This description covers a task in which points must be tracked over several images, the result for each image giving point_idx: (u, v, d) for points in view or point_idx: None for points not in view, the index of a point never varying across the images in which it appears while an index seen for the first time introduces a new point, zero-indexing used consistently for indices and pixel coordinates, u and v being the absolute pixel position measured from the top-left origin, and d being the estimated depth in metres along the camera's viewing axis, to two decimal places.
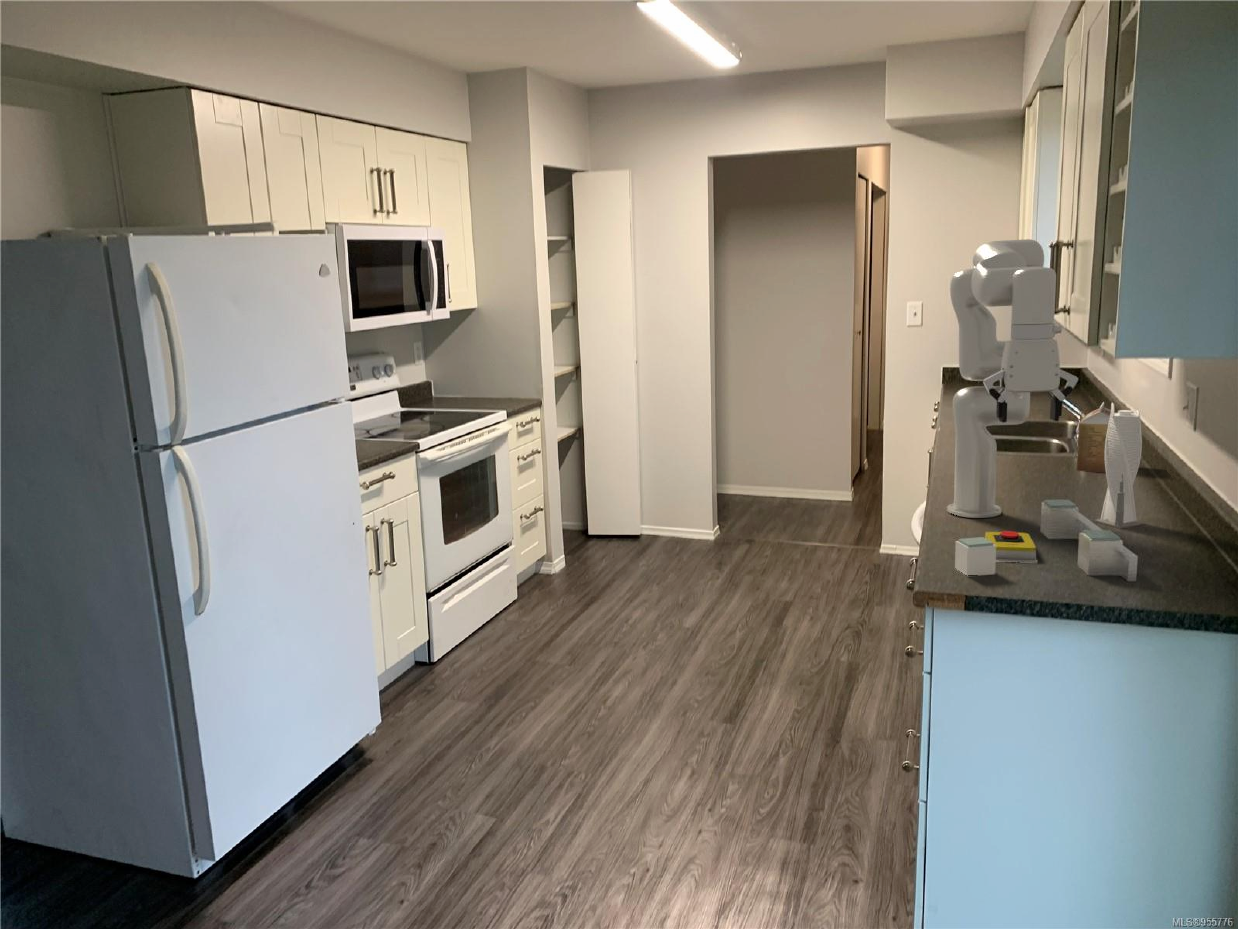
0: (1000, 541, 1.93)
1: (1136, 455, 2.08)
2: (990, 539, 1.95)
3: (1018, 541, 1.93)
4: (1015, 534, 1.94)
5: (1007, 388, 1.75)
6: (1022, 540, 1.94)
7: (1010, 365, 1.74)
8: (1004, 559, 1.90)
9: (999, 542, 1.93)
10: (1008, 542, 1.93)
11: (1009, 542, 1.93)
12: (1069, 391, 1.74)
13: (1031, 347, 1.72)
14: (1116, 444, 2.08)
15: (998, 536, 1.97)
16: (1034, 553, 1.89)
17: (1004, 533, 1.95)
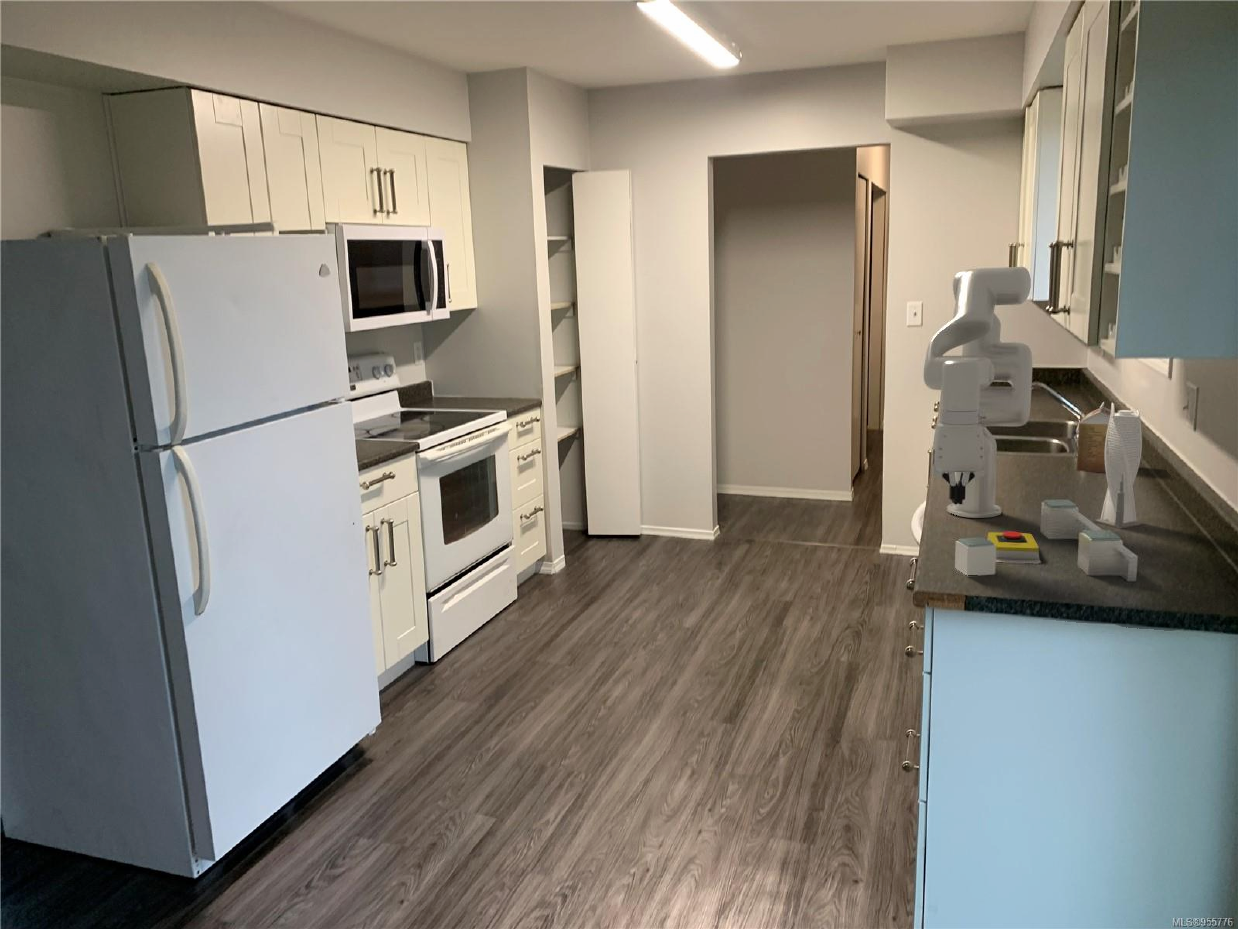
0: (1002, 542, 1.93)
1: (1136, 455, 2.08)
2: (993, 539, 1.95)
3: (1021, 541, 1.93)
4: (1018, 534, 1.94)
5: (937, 468, 1.91)
6: (1025, 540, 1.94)
7: (939, 447, 1.90)
8: (1006, 559, 1.89)
9: (1002, 542, 1.93)
10: (1011, 542, 1.92)
11: (1012, 542, 1.92)
12: (971, 477, 1.91)
13: (958, 431, 1.89)
14: (1116, 444, 2.08)
15: (1001, 536, 1.97)
16: (1037, 553, 1.88)
17: (1007, 533, 1.95)
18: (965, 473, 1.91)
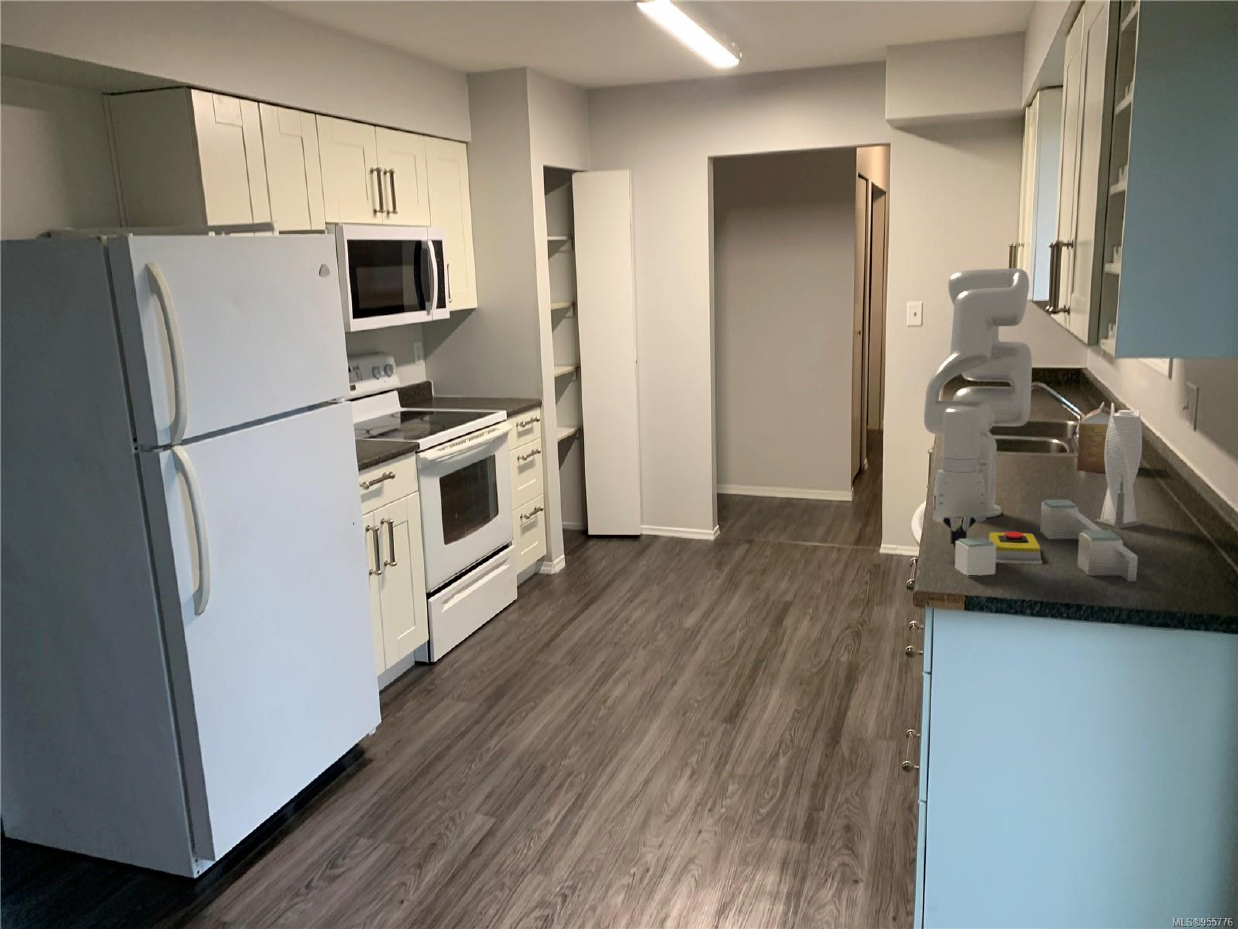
0: (1004, 542, 1.93)
1: (1136, 455, 2.08)
2: (994, 540, 1.95)
3: (1022, 542, 1.93)
4: (1019, 535, 1.93)
5: (938, 514, 1.94)
6: (1027, 540, 1.93)
7: (940, 494, 1.92)
8: (1008, 560, 1.89)
9: (1003, 542, 1.93)
10: (1012, 543, 1.92)
11: (1013, 543, 1.92)
12: (972, 523, 1.94)
13: (959, 479, 1.91)
14: (1116, 444, 2.08)
15: (1002, 537, 1.97)
16: (1039, 554, 1.88)
17: (1008, 534, 1.95)
18: (966, 519, 1.93)
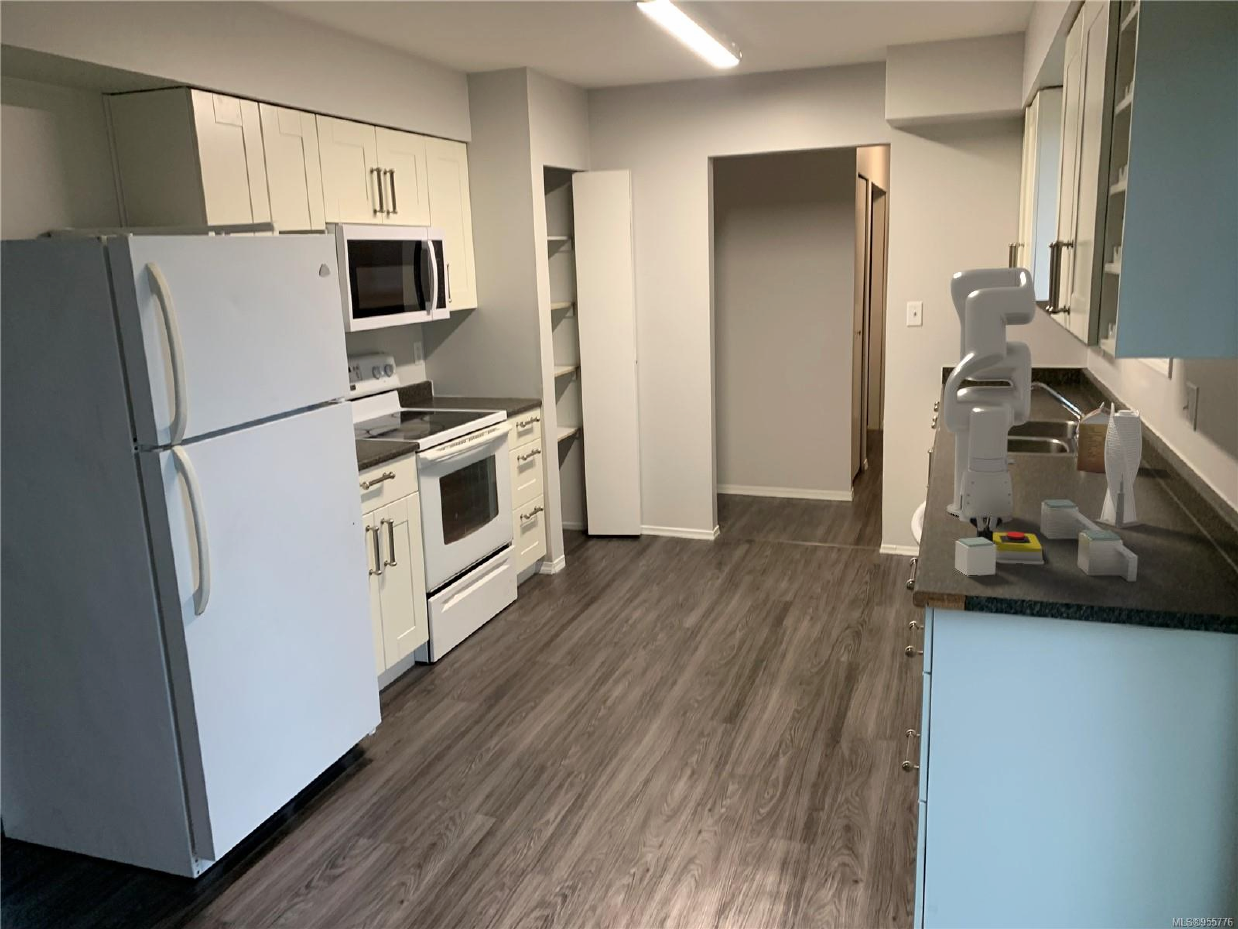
0: (1006, 542, 1.93)
1: (1136, 455, 2.08)
2: (996, 540, 1.95)
3: (1024, 542, 1.92)
4: (1021, 535, 1.93)
5: (964, 513, 1.93)
6: (1029, 540, 1.93)
7: (967, 494, 1.92)
8: (1010, 560, 1.89)
9: (1005, 543, 1.92)
10: (1014, 543, 1.92)
11: (1015, 543, 1.92)
12: (999, 522, 1.93)
13: (986, 478, 1.90)
14: (1116, 444, 2.08)
15: (1004, 537, 1.97)
16: (1040, 554, 1.88)
17: (1010, 534, 1.94)
18: (993, 518, 1.93)
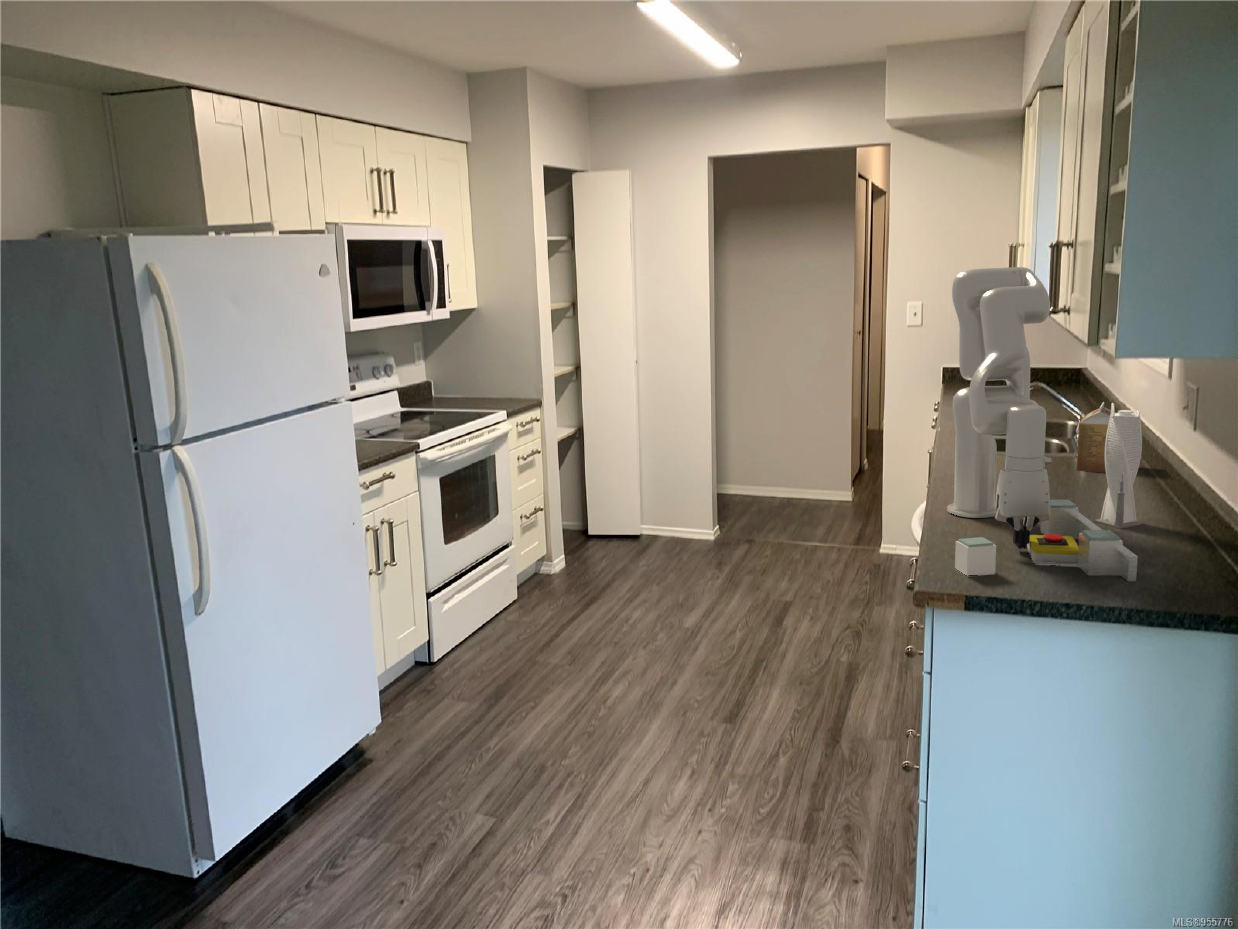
0: (1043, 545, 1.90)
1: (1136, 455, 2.08)
2: (1033, 542, 1.92)
3: (1062, 544, 1.90)
4: (1059, 537, 1.91)
5: (1001, 513, 1.92)
6: (1067, 543, 1.91)
7: (1004, 493, 1.90)
8: None
9: (1042, 545, 1.90)
10: (1052, 545, 1.90)
11: (1053, 545, 1.89)
12: (1036, 522, 1.92)
13: (1023, 477, 1.89)
14: (1116, 444, 2.08)
15: (1041, 539, 1.94)
16: None
17: (1048, 536, 1.92)
18: (1030, 518, 1.91)
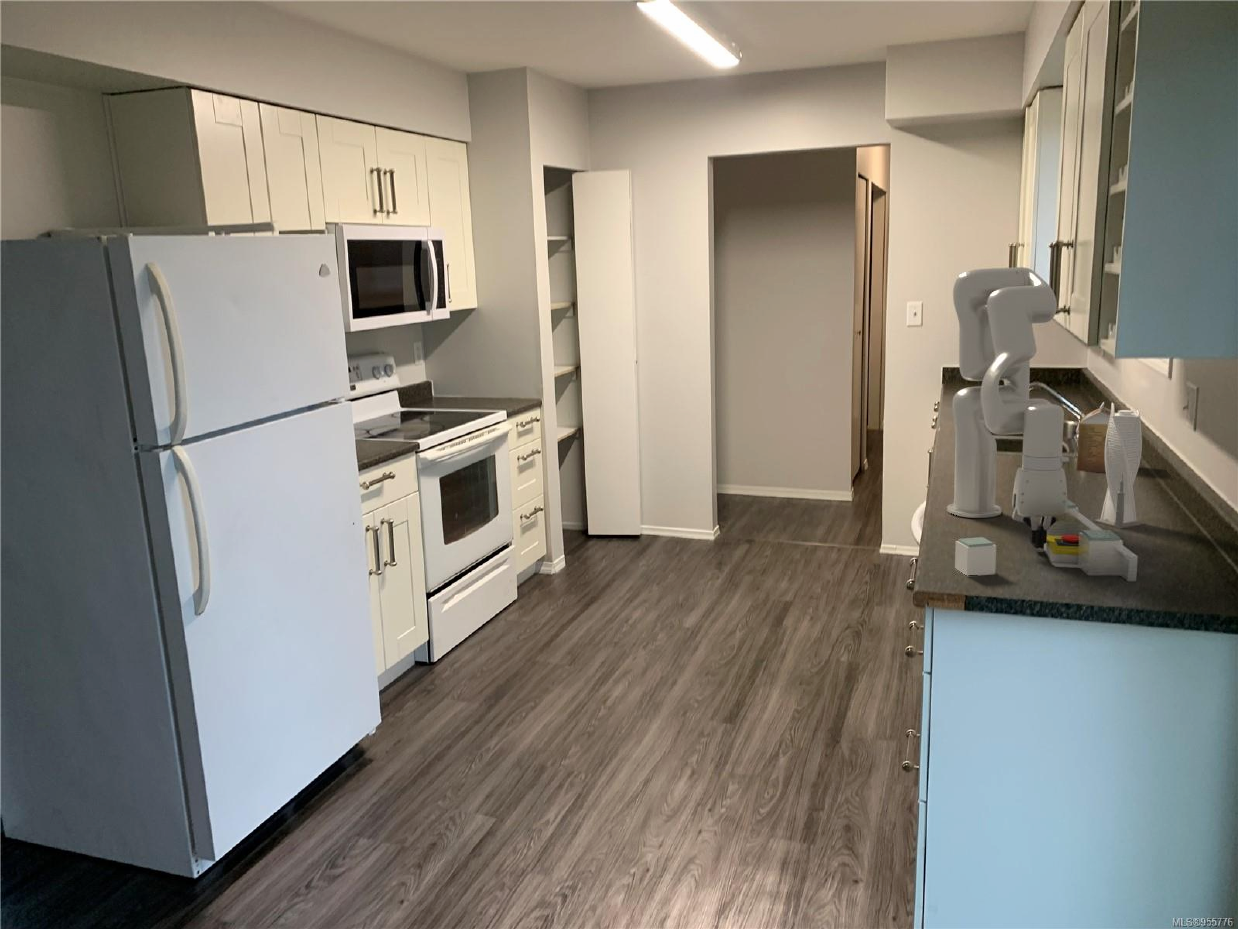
0: (1062, 545, 1.89)
1: (1136, 455, 2.08)
2: (1051, 543, 1.91)
3: None
4: (1078, 538, 1.89)
5: (1018, 512, 1.91)
6: None
7: (1021, 493, 1.90)
8: (1067, 564, 1.85)
9: (1061, 546, 1.88)
10: (1071, 546, 1.88)
11: (1072, 546, 1.88)
12: (1053, 522, 1.91)
13: (1040, 477, 1.88)
14: (1116, 444, 2.08)
15: (1059, 540, 1.92)
16: None
17: (1066, 537, 1.90)
18: (1047, 518, 1.91)
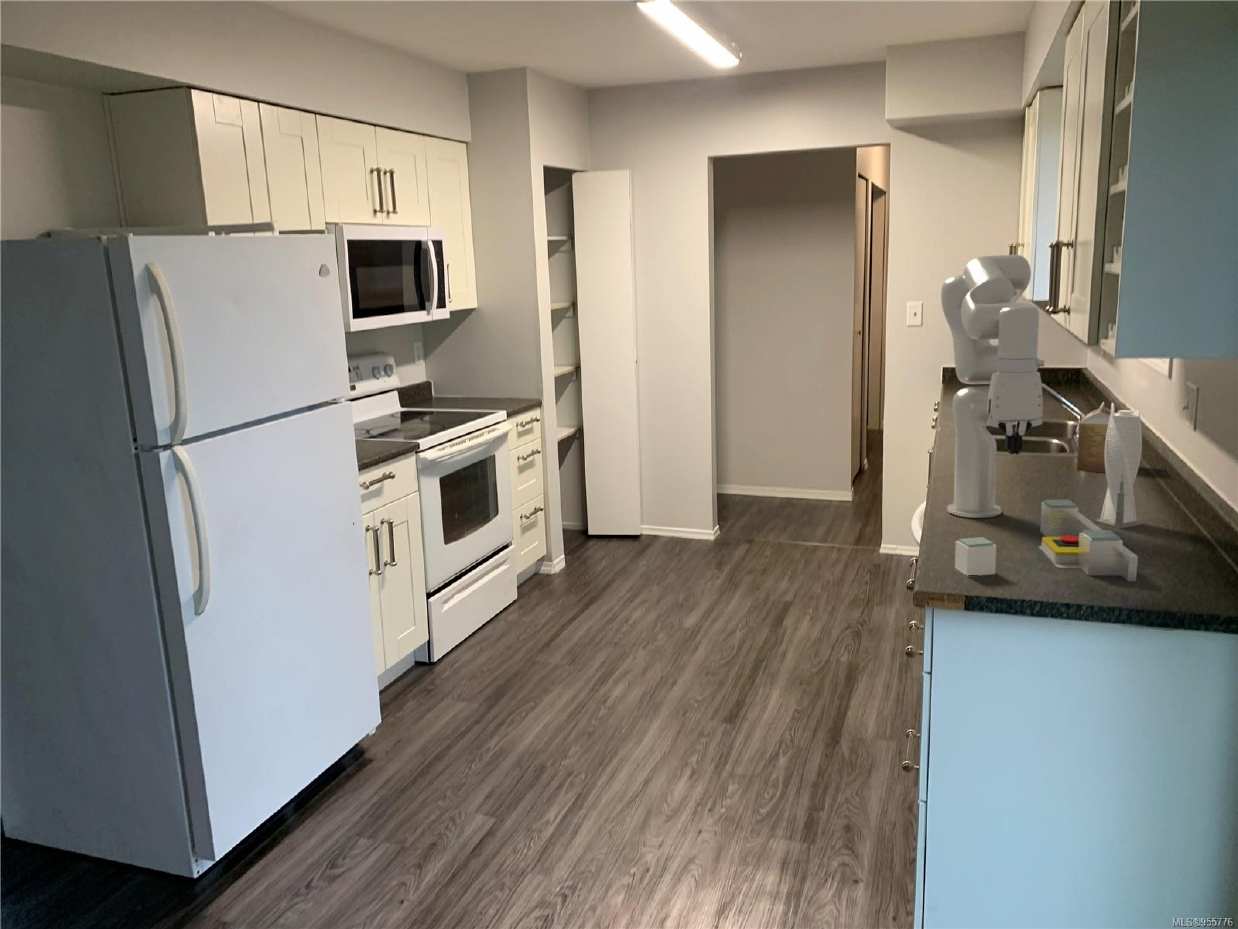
0: (1062, 547, 1.88)
1: (1136, 455, 2.08)
2: (1051, 544, 1.90)
3: None
4: (1077, 538, 1.89)
5: (993, 417, 1.88)
6: None
7: (996, 396, 1.87)
8: (1070, 565, 1.84)
9: (1062, 547, 1.88)
10: (1071, 547, 1.87)
11: (1072, 547, 1.87)
12: (1029, 426, 1.88)
13: (1015, 380, 1.85)
14: (1116, 444, 2.08)
15: (1057, 541, 1.92)
16: None
17: (1065, 538, 1.90)
18: (1022, 422, 1.88)
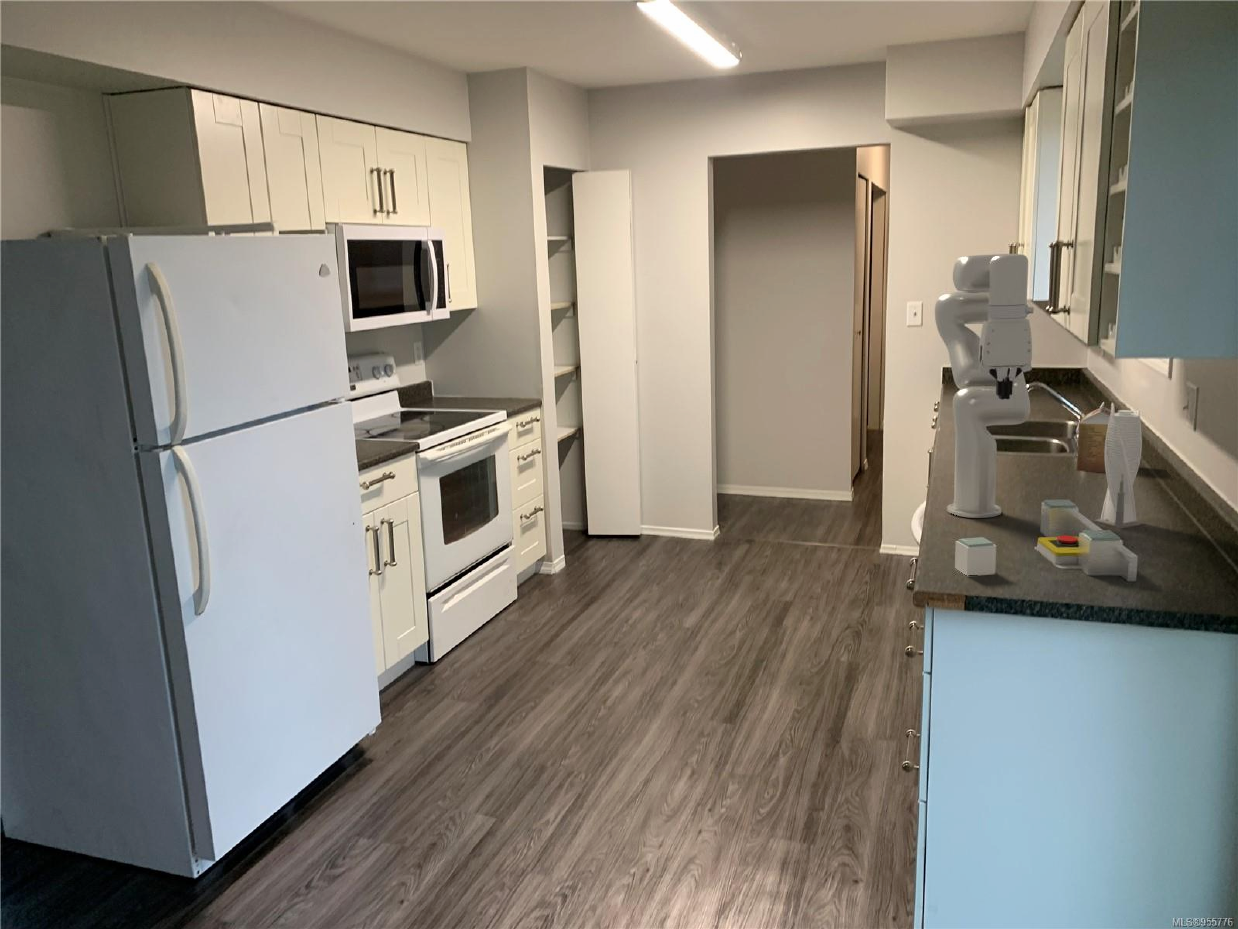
0: (1061, 547, 1.88)
1: (1136, 455, 2.08)
2: (1049, 545, 1.89)
3: (1078, 545, 1.88)
4: (1074, 538, 1.89)
5: (984, 363, 1.94)
6: None
7: (987, 343, 1.93)
8: (1070, 565, 1.84)
9: (1060, 547, 1.87)
10: (1069, 547, 1.87)
11: (1070, 547, 1.87)
12: (1019, 372, 1.95)
13: (1006, 326, 1.92)
14: (1116, 444, 2.08)
15: (1054, 541, 1.92)
16: None
17: (1062, 538, 1.90)
18: (1012, 368, 1.94)
